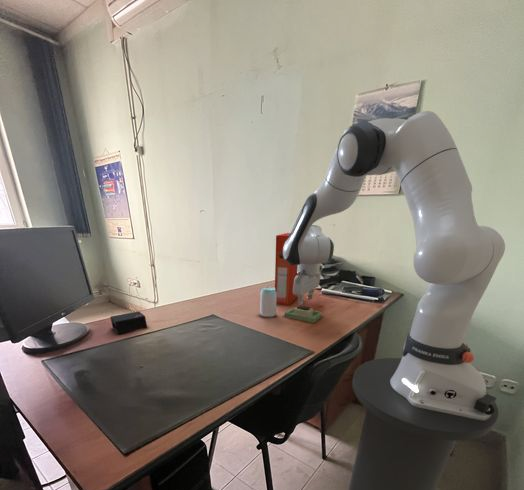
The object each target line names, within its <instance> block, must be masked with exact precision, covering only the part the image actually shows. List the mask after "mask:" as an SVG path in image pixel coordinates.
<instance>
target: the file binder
mask: <svg viewBox="0 0 524 490" xmlns="http://www.w3.org/2000/svg"><path fill="white" fill-rule="evenodd" d="M290 233H291V232H286V233H281V234H277V235H275V261H274V262H275V264H274V265H275V266H274V267H275V268H274V288H275V291H276V292H277V299H276V305H280V306H281V305H282V306H290V305H291V304H292V303H293V302H294V301H295V300H296V299H297V298H298V296H297V295H294V294H293V285H294V279H295V277H296V276H297V275H298V273H297V265H293V266H291V265H290V264H289V263H288V262H286V260H285V259H284V257H283V247H284V243H285V241H286V240H287V238H288V237H289V235H290Z"/></svg>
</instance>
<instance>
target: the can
mask: <svg viewBox="0 0 524 490" xmlns="http://www.w3.org/2000/svg"><path fill="white" fill-rule="evenodd" d="M259 297H260V298H259V306H260V307H259V309H260V310H259V315H260V316H261V317H263V318H273V317H275V316H276V315H277V304H276V299H277V292H276V291H275V287H271V286H265V287H262V288H261V290H260V294H259Z"/></svg>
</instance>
